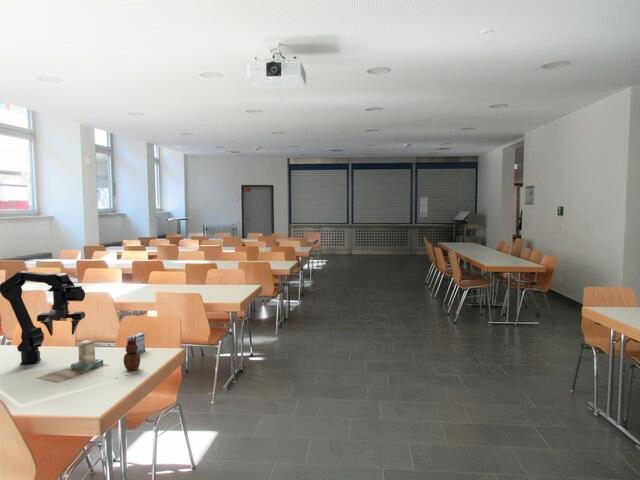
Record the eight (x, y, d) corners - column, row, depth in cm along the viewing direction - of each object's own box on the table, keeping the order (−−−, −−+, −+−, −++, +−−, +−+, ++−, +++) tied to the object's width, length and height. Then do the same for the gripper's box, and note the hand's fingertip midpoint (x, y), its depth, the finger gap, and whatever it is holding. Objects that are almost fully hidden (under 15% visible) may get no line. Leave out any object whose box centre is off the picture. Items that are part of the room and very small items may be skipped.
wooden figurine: (143, 368, 204) (142, 334, 204) (133, 372, 199) (131, 337, 198) (131, 366, 207) (130, 333, 206) (121, 370, 202) (120, 336, 201)
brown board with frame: (58, 385, 185) (58, 377, 185) (35, 380, 191) (35, 373, 191) (109, 367, 207) (109, 360, 206) (87, 363, 213) (87, 356, 213)
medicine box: (136, 355, 224) (135, 337, 224) (127, 354, 225) (127, 337, 224) (145, 350, 232) (144, 333, 231) (137, 350, 233) (136, 333, 232)
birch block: (79, 367, 203) (78, 342, 203) (87, 364, 208) (86, 340, 207) (87, 368, 202) (86, 343, 201) (95, 365, 206) (94, 340, 206)
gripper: (29, 305, 202) (31, 340, 203) (75, 303, 205) (76, 338, 205) (42, 300, 213) (43, 334, 214) (85, 299, 216) (86, 332, 217)
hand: (62, 335), depth 212 cm, fingers open, 9 cm apart
